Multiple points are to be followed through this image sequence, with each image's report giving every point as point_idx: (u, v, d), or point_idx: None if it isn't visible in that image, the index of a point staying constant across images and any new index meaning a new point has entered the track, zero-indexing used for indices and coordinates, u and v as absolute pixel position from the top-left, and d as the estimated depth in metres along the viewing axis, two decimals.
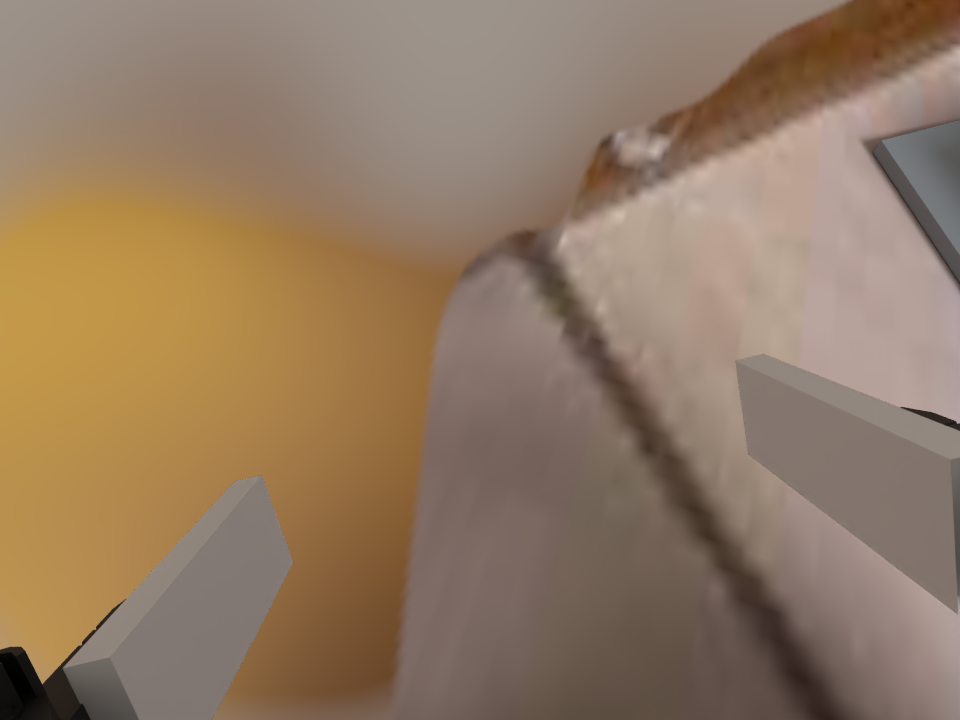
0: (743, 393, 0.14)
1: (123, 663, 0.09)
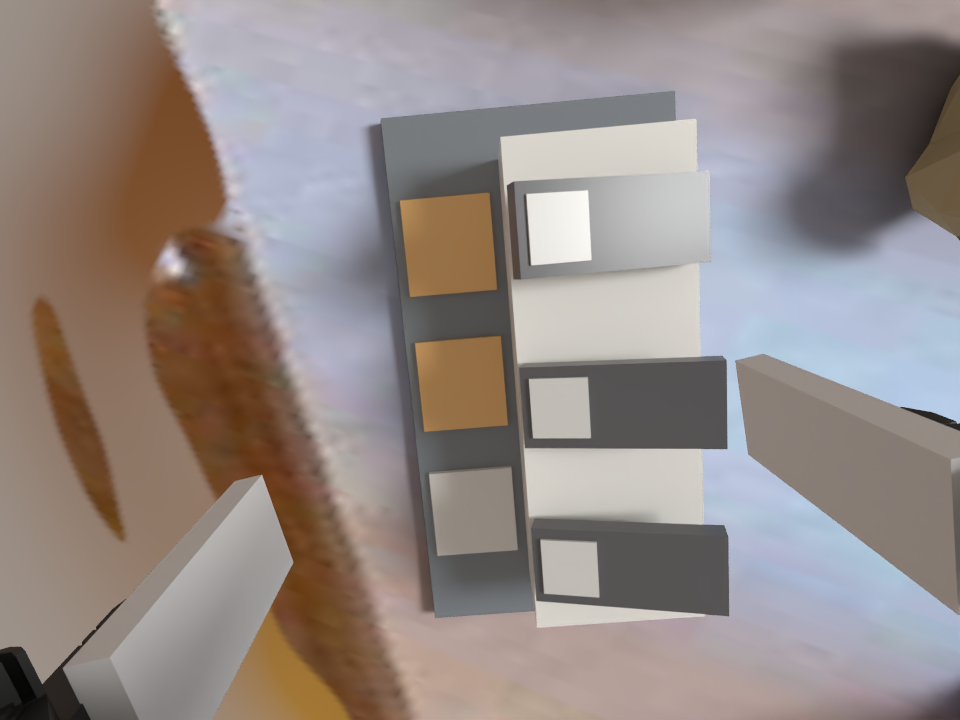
0: (743, 393, 0.14)
1: (123, 663, 0.09)
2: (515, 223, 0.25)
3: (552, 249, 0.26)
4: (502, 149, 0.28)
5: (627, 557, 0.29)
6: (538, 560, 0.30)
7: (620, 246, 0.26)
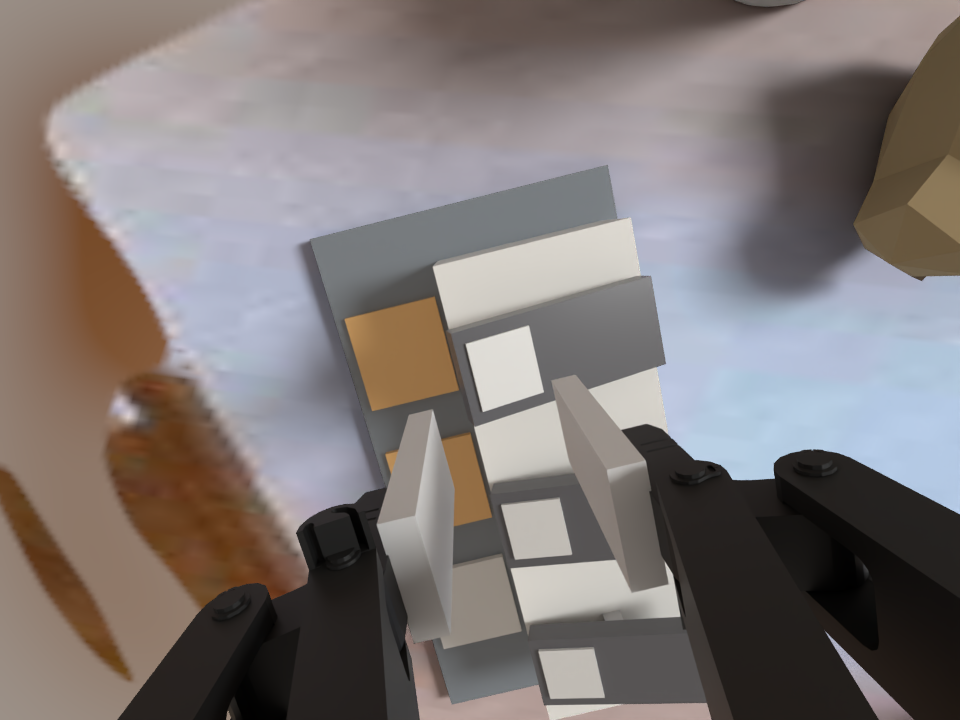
0: (558, 408, 0.17)
1: (419, 523, 0.11)
2: (459, 372, 0.24)
3: (502, 391, 0.25)
4: (436, 278, 0.27)
5: (626, 658, 0.29)
6: (539, 669, 0.31)
7: (571, 370, 0.26)
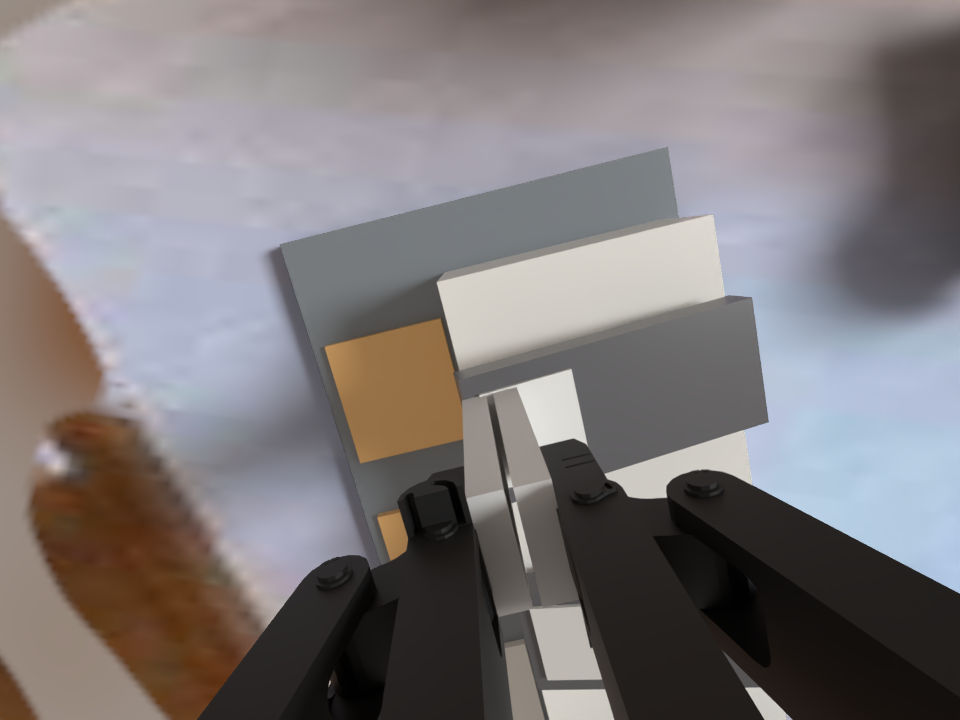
0: None
1: None
2: None
3: None
4: (442, 298, 0.20)
5: None
6: None
7: (631, 432, 0.18)
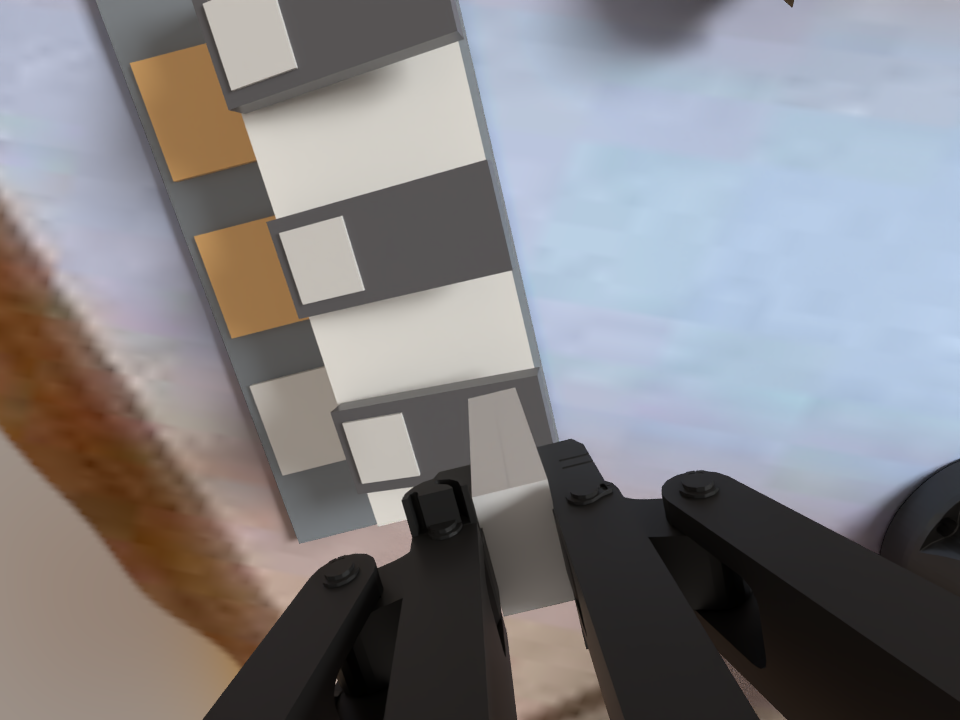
0: None
1: None
2: None
3: (248, 65, 0.22)
4: None
5: (438, 423, 0.25)
6: (347, 448, 0.26)
7: (329, 40, 0.21)
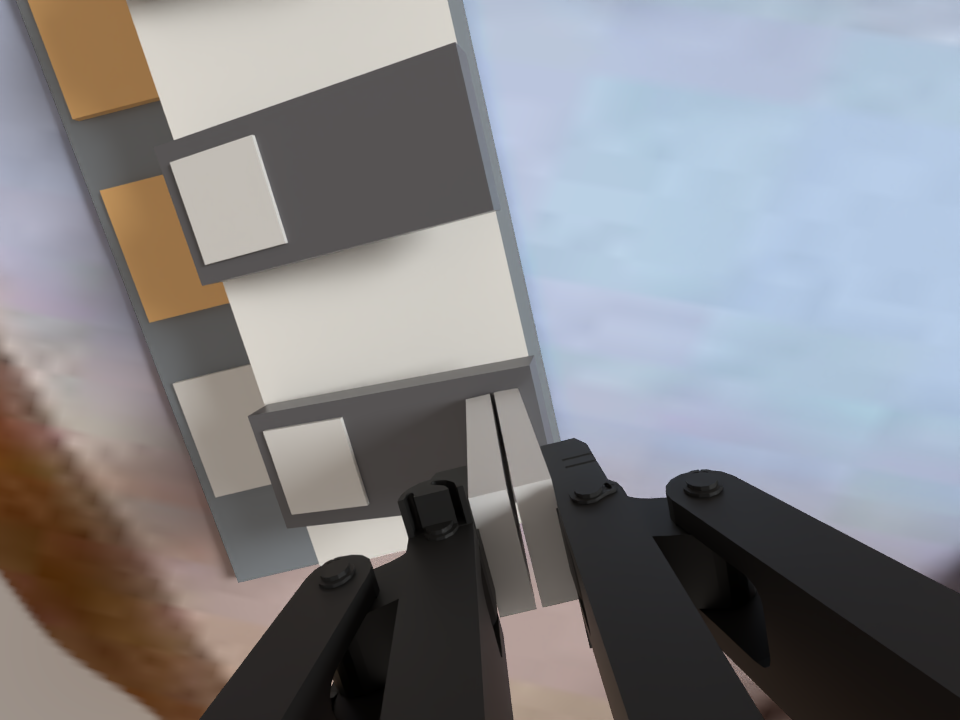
0: None
1: (508, 497, 0.11)
2: None
3: None
4: None
5: (392, 433, 0.18)
6: (272, 465, 0.19)
7: None
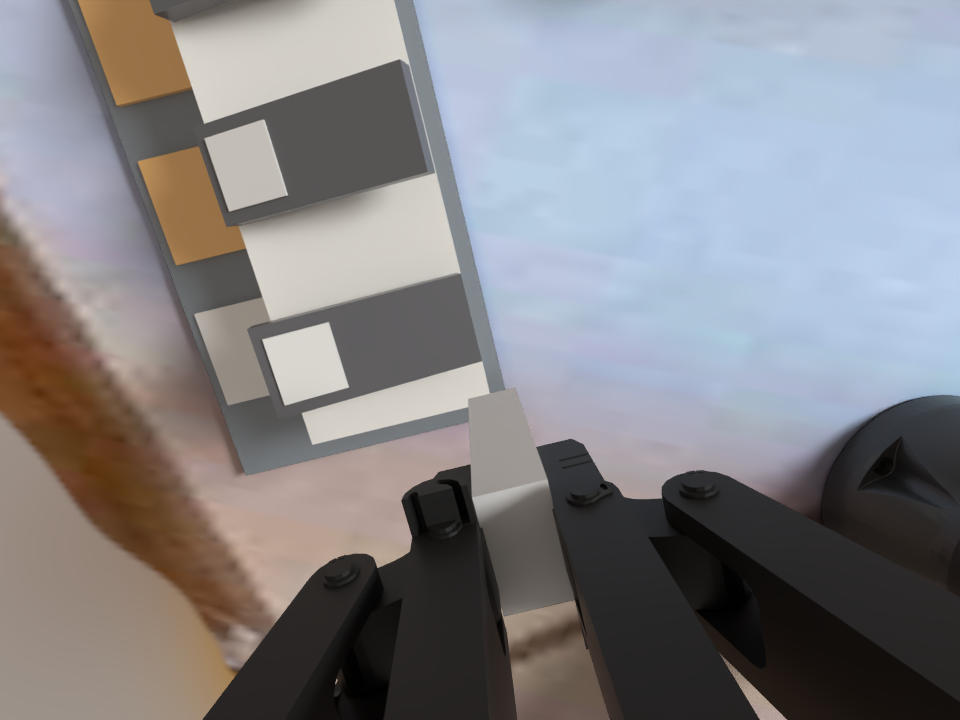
0: None
1: None
2: None
3: None
4: None
5: (367, 330, 0.26)
6: (267, 368, 0.25)
7: None
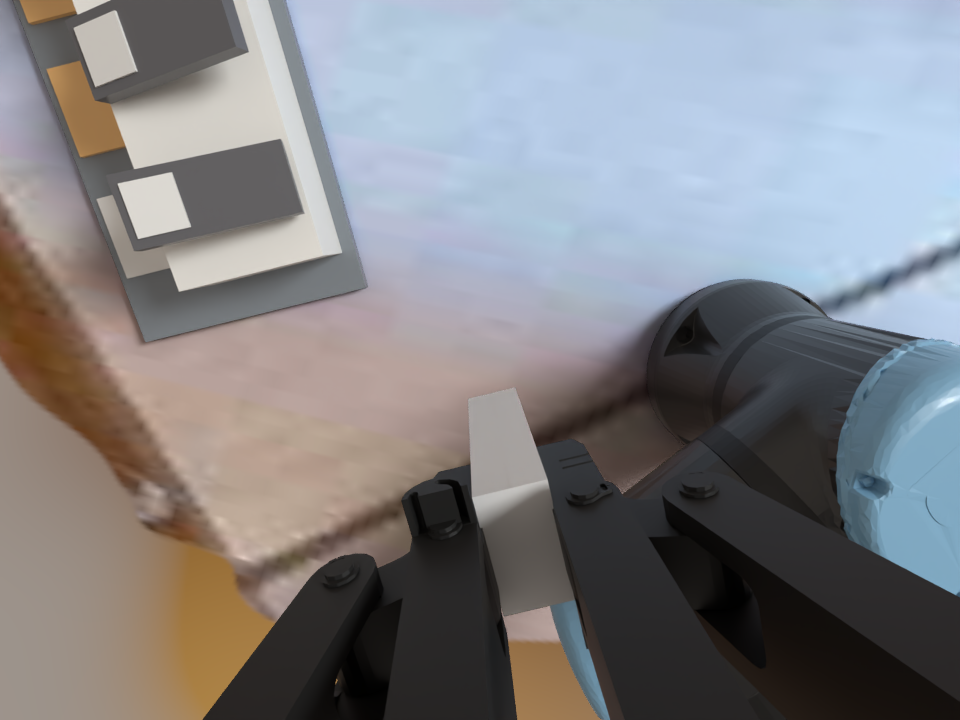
0: None
1: None
2: None
3: None
4: None
5: (204, 181, 0.33)
6: (123, 208, 0.32)
7: None
